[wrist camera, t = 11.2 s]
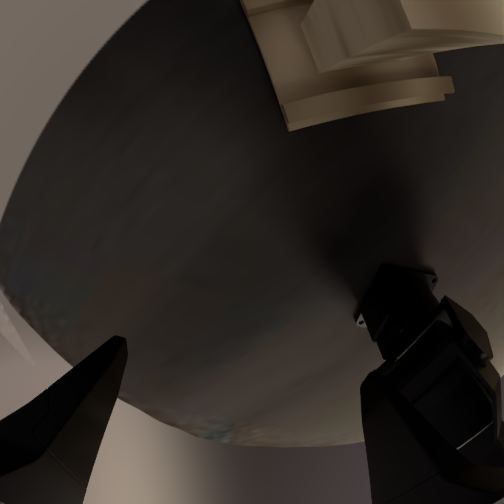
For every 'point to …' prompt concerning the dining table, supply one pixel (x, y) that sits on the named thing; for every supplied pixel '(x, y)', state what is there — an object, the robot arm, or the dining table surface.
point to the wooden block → (397, 29)
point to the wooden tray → (333, 72)
